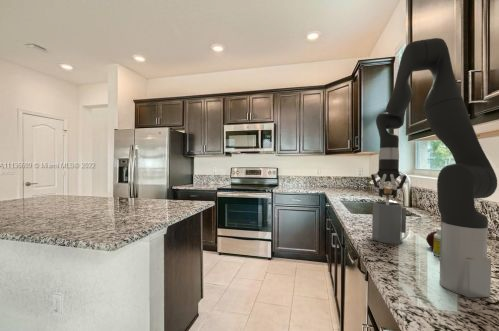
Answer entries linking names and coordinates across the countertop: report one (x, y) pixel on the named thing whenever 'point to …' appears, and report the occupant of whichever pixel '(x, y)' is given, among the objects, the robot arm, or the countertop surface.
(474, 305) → the countertop surface
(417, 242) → the countertop surface
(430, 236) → the potato
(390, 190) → the plunger
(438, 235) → the supplement bottle
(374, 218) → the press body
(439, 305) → the countertop surface
